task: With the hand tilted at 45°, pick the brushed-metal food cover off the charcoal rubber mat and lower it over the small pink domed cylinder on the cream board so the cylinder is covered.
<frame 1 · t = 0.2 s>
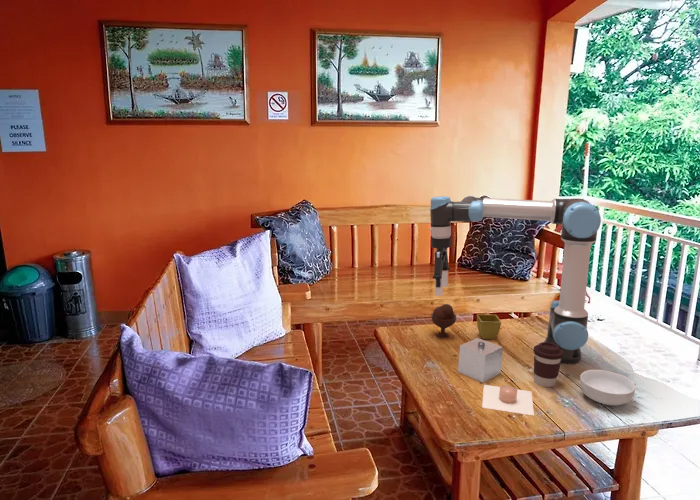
hand: (441, 290, 202), 27 cm above the table, tool pointing down, fingers open, 13 cm apart
serving board: (507, 401, 173), on the table
coffee cup: (544, 384, 186), on the table
metal cover: (479, 373, 192), resting on rubber mat
pink domed cylinder: (507, 399, 173), resting on serving board
flower pot: (487, 337, 227), on the table
cereal bowl: (604, 400, 176), on the table
ice cream bowl: (442, 336, 227), on the table
rubber mat: (478, 375, 192), on the table
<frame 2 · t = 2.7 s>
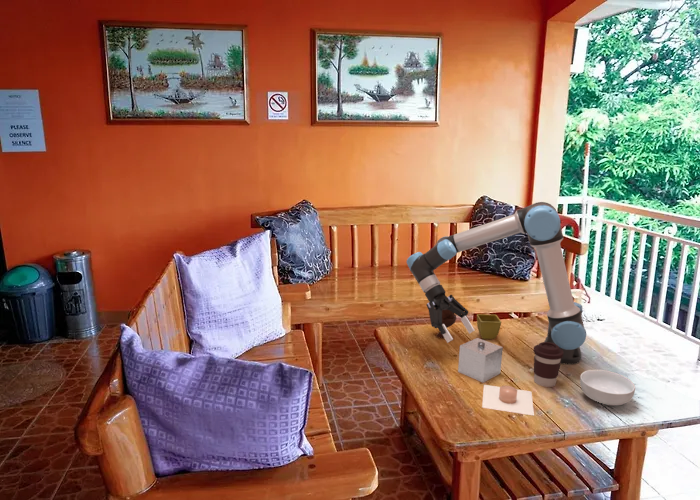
hand: (461, 336, 195), 13 cm above the table, tool tilted 45°, fingers open, 13 cm apart
nothing on the table moved.
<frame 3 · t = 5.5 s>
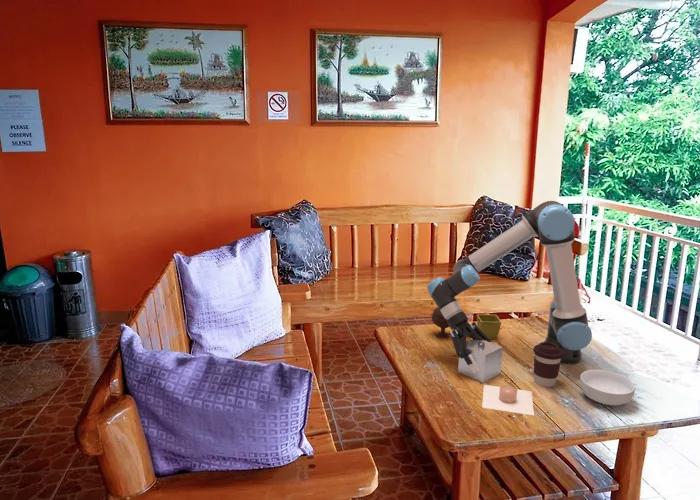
hand: (486, 367, 189), 4 cm above the table, tool tilted 45°, fingers closed on metal cover, 11 cm apart
metal cover: (478, 373, 192), point 1 cm above the table, touching gripper, rubber mat
everything else where it was.
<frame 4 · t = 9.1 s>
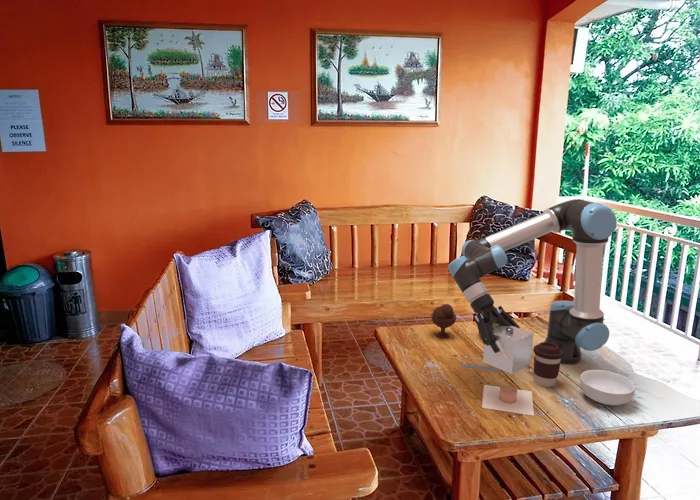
hand: (515, 355, 169), 17 cm above the table, tool tilted 45°, fingers closed on metal cover, 11 cm apart
metal cover: (506, 363, 172), point 13 cm above the table, touching gripper
everything else where it was.
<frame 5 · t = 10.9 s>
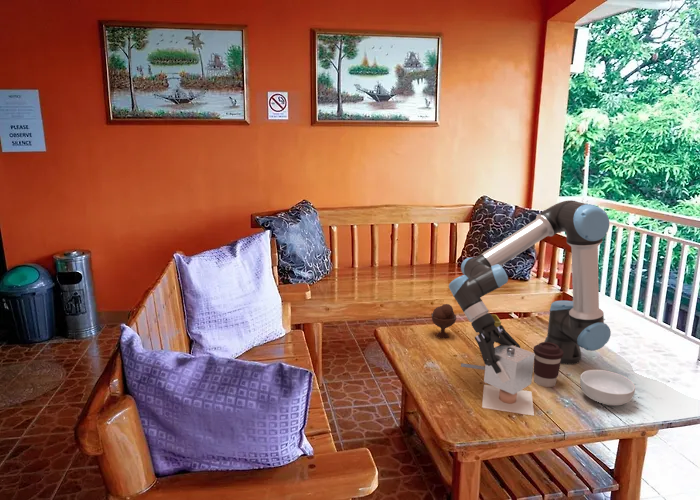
hand: (516, 375, 169), 11 cm above the table, tool tilted 45°, fingers closed on metal cover, 11 cm apart
metal cover: (507, 382, 172), point 7 cm above the table, touching gripper
everything else where it was.
when the fingers open (6 cm above the table, at t = 12.7 s): metal cover stays where it is, resting on serving board.
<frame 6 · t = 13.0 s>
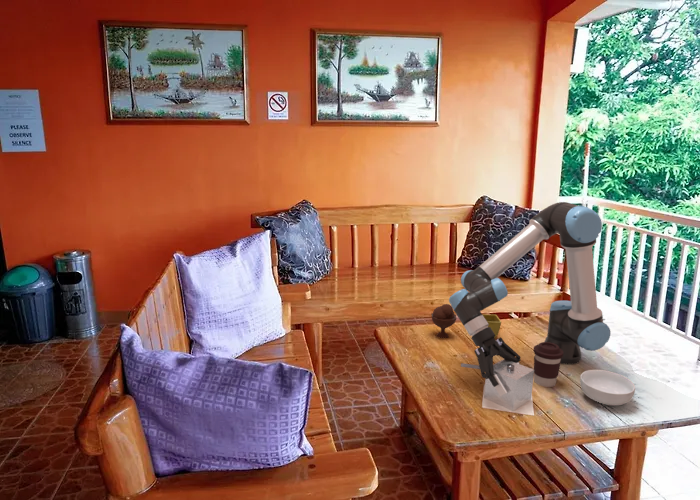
hand: (515, 387, 170), 6 cm above the table, tool tilted 45°, fingers open, 13 cm apart
metal cover: (507, 399, 173), point 1 cm above the table, touching serving board
everything else where it was.
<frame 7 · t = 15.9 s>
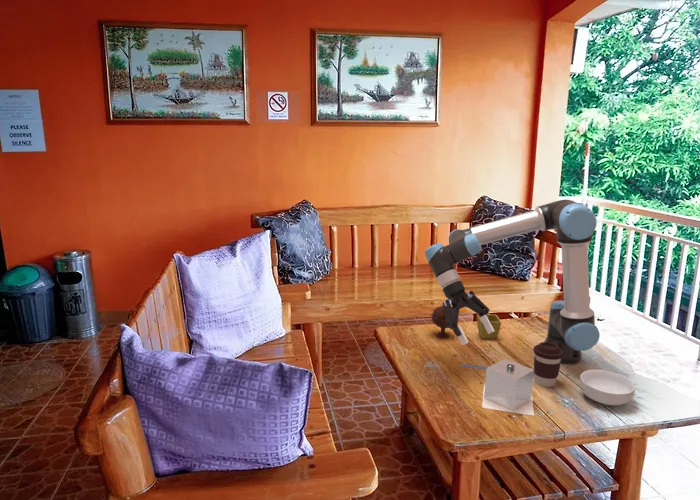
hand: (478, 338, 181), 18 cm above the table, tool tilted 40°, fingers open, 13 cm apart
nothing on the table moved.
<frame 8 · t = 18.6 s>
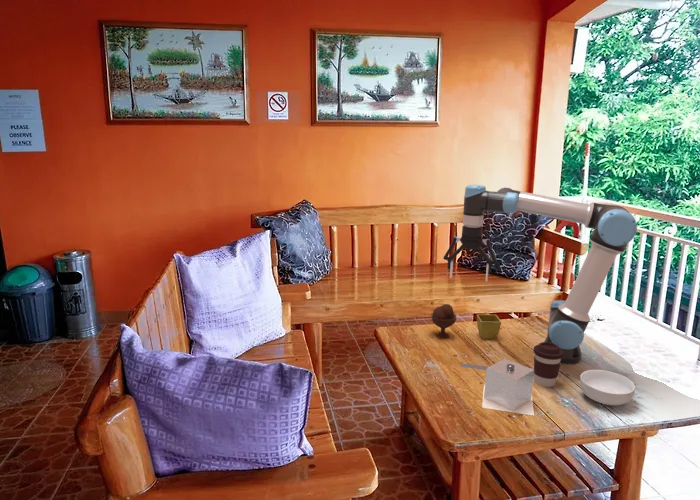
hand: (468, 279, 202), 32 cm above the table, tool pointing down, fingers open, 13 cm apart
nothing on the table moved.
at the end: metal cover 0.1 cm from the pink domed cylinder (horizontally); metal cover point 1.0 cm above the table; metal cover tilted 0° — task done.
